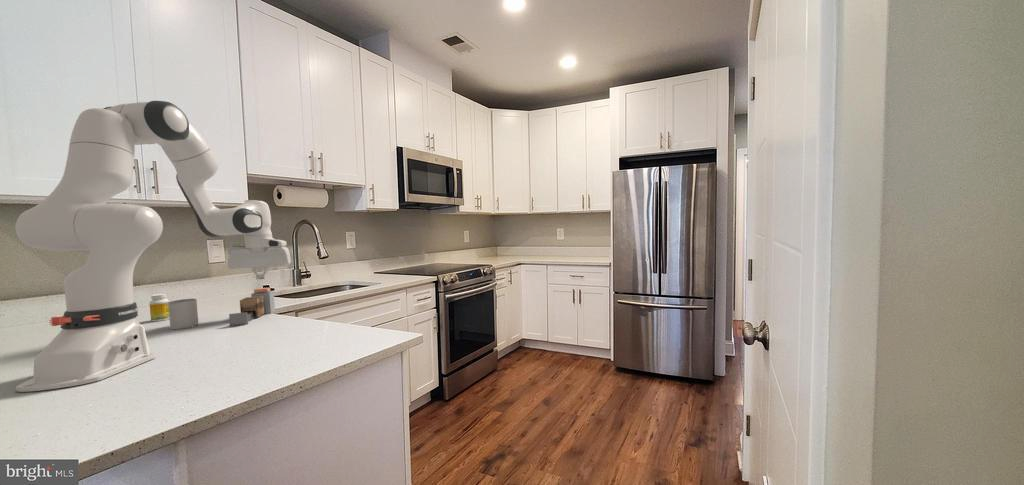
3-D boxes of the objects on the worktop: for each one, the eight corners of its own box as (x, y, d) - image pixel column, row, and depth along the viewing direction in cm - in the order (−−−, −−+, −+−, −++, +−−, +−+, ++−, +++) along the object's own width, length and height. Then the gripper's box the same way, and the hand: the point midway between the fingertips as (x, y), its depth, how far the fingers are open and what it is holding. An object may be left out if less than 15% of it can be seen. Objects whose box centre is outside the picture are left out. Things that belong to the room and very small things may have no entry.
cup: (171, 331, 122) (168, 303, 122) (169, 326, 129) (166, 300, 129) (199, 326, 127) (197, 300, 127) (196, 321, 134) (194, 297, 134)
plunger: (268, 302, 143) (267, 288, 143) (255, 303, 142) (254, 289, 141) (271, 300, 146) (270, 287, 146) (258, 301, 145) (257, 288, 144)
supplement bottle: (151, 320, 140) (149, 294, 139) (171, 317, 143) (168, 292, 143) (150, 322, 136) (147, 296, 135) (170, 319, 139) (167, 294, 139)
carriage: (258, 317, 135) (257, 298, 135) (241, 318, 134) (239, 300, 134) (264, 313, 141) (263, 296, 141) (248, 315, 140) (246, 297, 139)
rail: (247, 324, 126) (246, 312, 126) (230, 326, 125) (229, 314, 125) (264, 314, 142) (263, 303, 141) (249, 315, 140) (248, 305, 140)
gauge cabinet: (270, 313, 143) (269, 292, 142) (252, 315, 141) (251, 294, 141) (274, 310, 147) (273, 290, 146) (257, 312, 145) (255, 292, 145)
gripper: (223, 244, 137) (225, 282, 137) (285, 241, 142) (288, 277, 142) (231, 244, 143) (233, 280, 143) (290, 241, 148) (293, 276, 149)
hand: (261, 279), depth 143 cm, fingers closed
